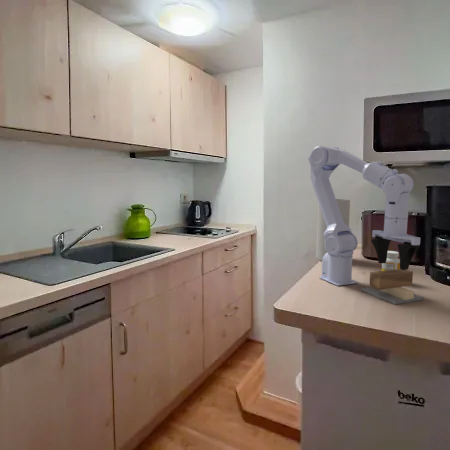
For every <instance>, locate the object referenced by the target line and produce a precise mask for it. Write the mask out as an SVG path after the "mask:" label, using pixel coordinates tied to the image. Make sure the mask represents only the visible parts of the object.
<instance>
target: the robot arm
mask: <svg viewBox="0 0 450 450" xmlns="http://www.w3.org/2000/svg"><path fill="white" fill-rule="evenodd" d="M308 162H309V165H310V180H311V185H312V187H313V189H314V193H315V196H316V198H317V203H318V202H319V205H320V208H321V211H322V214H323V217H324V220H325V223H326V226H327V229H326V231H325V232H324V238H325V249H326V251H327V252H328V253H326V254H325V255H324V256H323V259H322V261H321V262H322V263H321V276H319V279H322V281H326V282H327V283H330V284H333V285H335V286H344V285H346V286H347V285H354V284H358V283H359V282H358V280H357V281H356V280H355V279H352V278H353V277H352V276H353V275H352V274H353V255H354V251H355V250H356V249H357V248H358V245H359V243H358V242H359V241H358V238H357V237H356V235H355V234H354V233H353V231H352V229H351V227H350V226H349V227H348V226H347V225H346V224H345V223H344V221H343V218H342V216H341V213H340V210H339V207H338V204H337V201H336V199H337V198H336V196H335V195H336V194H335V192H334V190H333V188H332V184H331V180H330V177H331V176H332V174H333V173H334V172H335V170H336V169H337V168H338V167H339V166H340V165H344V166H345V167H348V168H351V169H352V170H354V171H356V172H359V173H361V175H362V178H363V180H365V181H367V182H368V183H370V184H372V185H374V186H377V187H378V188H380V189H382V191H383V192H384V194H385V203H384V204H385V206H384V217H383V218H384V221H383V230H379V229H377V230H375V229H373V230H372V233H371V234H372V235H371V237H372V238H371V239H370V241H371V243H372V245H373V247H374V250H375V253H376V256H377V262H378V264H382V263H386V260H387V252H388V251H389V248H390V244H391V241H394V242H399V243H397V248H398V252H399V259H400V269H401V270H409V266H410V264H411V262H412V259H413V257H414V255H415V254H416V253H417V252H418V249H420V245H421V237H418V236H415V235H410V234H408V233H407V232H408V220H409V219H408V218H409V207H410V205H409V204H410V193H411V192H412V191H413V189H414V186H415V183H414V180H413V178H412V177H411V176H410V175H409V174H407V173H399V170H398V169H395V168H393V169H391V168H390V167H388V166H385V165H384V162H383V161H380V160H379V161H372V162H369V163H368V162H367V161H365V160H363V159H362V158H359V157H358V156H357V155H354V154H352V153H350V152H349V151H347V150H345V149H340V148H339V147H335V146H334V147H331V146H330V147H329V146H322V145H317V146H315V147H314V148H313V149H312V150H311V152H310V154H309V156H308Z"/></svg>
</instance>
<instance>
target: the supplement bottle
mask: <svg viewBox="0 0 450 450" xmlns="http://www.w3.org/2000/svg"><path fill="white" fill-rule="evenodd" d="M399 257H400V253H399V251H397V250H395V251H394V250H388V252H387V260H386V263H381V271H387V270H395V269H400V258H399Z"/></svg>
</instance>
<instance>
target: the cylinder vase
mask: <svg viewBox="0 0 450 450" xmlns="http://www.w3.org/2000/svg"><path fill="white" fill-rule="evenodd" d="M336 201H337V204H338V207H339V210H340V213H341V216H342V218H343V221H344V223H345V224H346V225H347V226H348V227H350V211H351V209H350V208H351V199H347V198H336ZM326 229H327V226H326V223H325V220H324V217H323V214H322V211H321V208H320V205H319V202H318V201H317V217H316V244H315V246H316V248H315V252H316V253H315V258H316V259H317V260H319V261H321V262H322V259H323V256H324V255H325V254H326V253H328V252H327V251H326V249H325V238H324V232H325V231H326Z"/></svg>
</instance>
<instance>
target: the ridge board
mask: <svg viewBox="0 0 450 450" xmlns="http://www.w3.org/2000/svg"><path fill="white" fill-rule="evenodd" d="M361 292H364V293H365V294H369V295H372V297H373V296H374V297H375V298H378V299H381V300H383V301H386V302H388V303H390V304H393V305H401V304H405V303H412V302H418V301H419V302H420V301H423V300H424V296H421V295H418V294H415V291H414V290H411V289H408V288H405V287H404V286H403V287H396V288H389V289H382V290H378V289H375V288H373V287H370V286H369V287H368V286H367V287H362V288H361Z"/></svg>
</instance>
